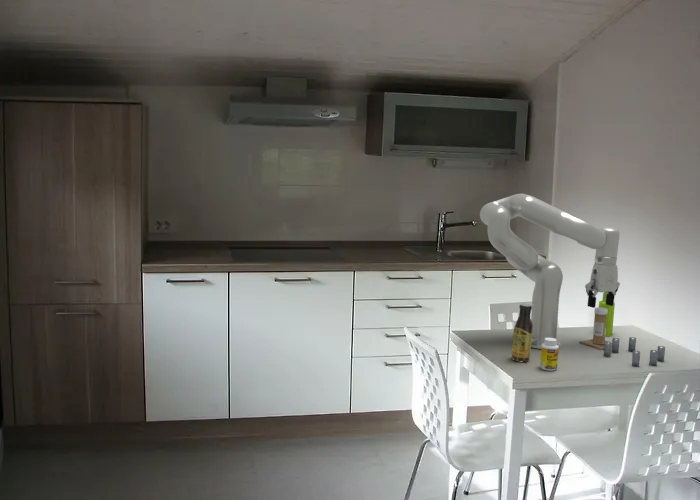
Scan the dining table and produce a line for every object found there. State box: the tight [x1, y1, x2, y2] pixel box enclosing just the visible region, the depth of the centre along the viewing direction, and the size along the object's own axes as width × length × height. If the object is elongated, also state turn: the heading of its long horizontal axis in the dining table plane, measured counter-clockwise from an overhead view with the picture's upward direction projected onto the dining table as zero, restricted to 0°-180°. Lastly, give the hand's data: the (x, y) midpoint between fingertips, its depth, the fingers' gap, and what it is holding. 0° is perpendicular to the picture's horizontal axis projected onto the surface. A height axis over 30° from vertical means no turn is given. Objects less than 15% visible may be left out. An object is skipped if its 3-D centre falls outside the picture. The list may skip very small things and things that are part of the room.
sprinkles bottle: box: [592, 306, 608, 345], centre depth 262 cm, size 5×5×13 cm
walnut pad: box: [579, 338, 612, 351], centre depth 263 cm, size 10×10×1 cm
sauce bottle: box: [511, 302, 533, 362], centre depth 241 cm, size 7×6×20 cm
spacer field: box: [603, 336, 666, 368], centre depth 247 cm, size 15×18×5 cm
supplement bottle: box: [539, 338, 560, 372], centre depth 233 cm, size 6×6×10 cm
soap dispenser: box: [598, 292, 616, 337], centre depth 276 cm, size 6×7×20 cm
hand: (600, 306), depth 260 cm, fingers open, 9 cm apart
